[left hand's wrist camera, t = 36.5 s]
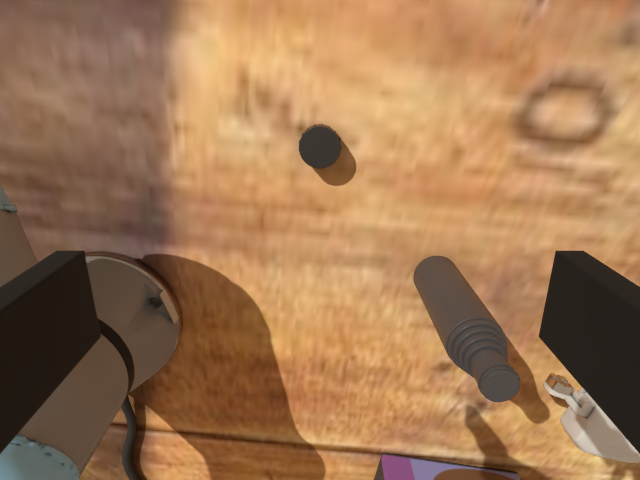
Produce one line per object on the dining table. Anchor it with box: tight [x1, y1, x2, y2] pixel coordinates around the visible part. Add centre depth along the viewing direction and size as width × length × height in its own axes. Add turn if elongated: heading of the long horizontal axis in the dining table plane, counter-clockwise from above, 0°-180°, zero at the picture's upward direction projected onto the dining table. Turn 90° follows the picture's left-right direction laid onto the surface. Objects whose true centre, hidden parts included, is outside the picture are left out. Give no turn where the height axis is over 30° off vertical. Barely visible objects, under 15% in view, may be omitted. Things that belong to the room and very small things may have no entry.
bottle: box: [414, 256, 520, 402], centre depth 38 cm, size 5×5×18 cm
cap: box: [299, 124, 341, 168], centre depth 40 cm, size 4×4×2 cm
